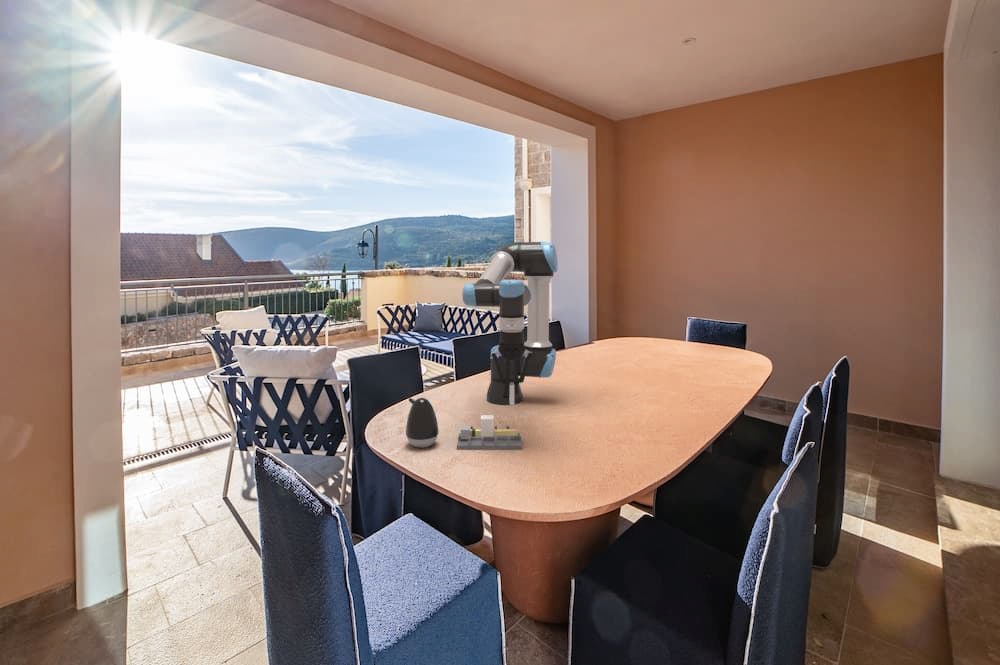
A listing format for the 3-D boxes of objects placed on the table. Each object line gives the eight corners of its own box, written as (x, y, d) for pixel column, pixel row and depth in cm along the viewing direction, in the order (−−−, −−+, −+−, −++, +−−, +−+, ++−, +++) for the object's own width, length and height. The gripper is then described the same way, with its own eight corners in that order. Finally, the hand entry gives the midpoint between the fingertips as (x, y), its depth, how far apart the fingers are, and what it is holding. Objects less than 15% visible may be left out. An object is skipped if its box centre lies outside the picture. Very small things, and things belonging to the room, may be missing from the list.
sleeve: (480, 436, 153) (480, 419, 152) (481, 432, 157) (481, 415, 156) (493, 436, 153) (493, 419, 152) (493, 432, 157) (493, 415, 156)
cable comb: (456, 449, 150) (456, 434, 149) (459, 436, 161) (459, 422, 160) (521, 449, 150) (521, 434, 149) (520, 436, 161) (520, 422, 160)
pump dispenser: (421, 436, 161) (420, 391, 159) (445, 443, 155) (444, 397, 153) (398, 446, 153) (397, 399, 150) (423, 453, 147) (422, 404, 145)
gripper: (490, 332, 146) (491, 407, 151) (533, 332, 146) (533, 407, 151) (490, 328, 154) (491, 400, 158) (532, 328, 154) (531, 399, 158)
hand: (511, 403), depth 154 cm, fingers closed
